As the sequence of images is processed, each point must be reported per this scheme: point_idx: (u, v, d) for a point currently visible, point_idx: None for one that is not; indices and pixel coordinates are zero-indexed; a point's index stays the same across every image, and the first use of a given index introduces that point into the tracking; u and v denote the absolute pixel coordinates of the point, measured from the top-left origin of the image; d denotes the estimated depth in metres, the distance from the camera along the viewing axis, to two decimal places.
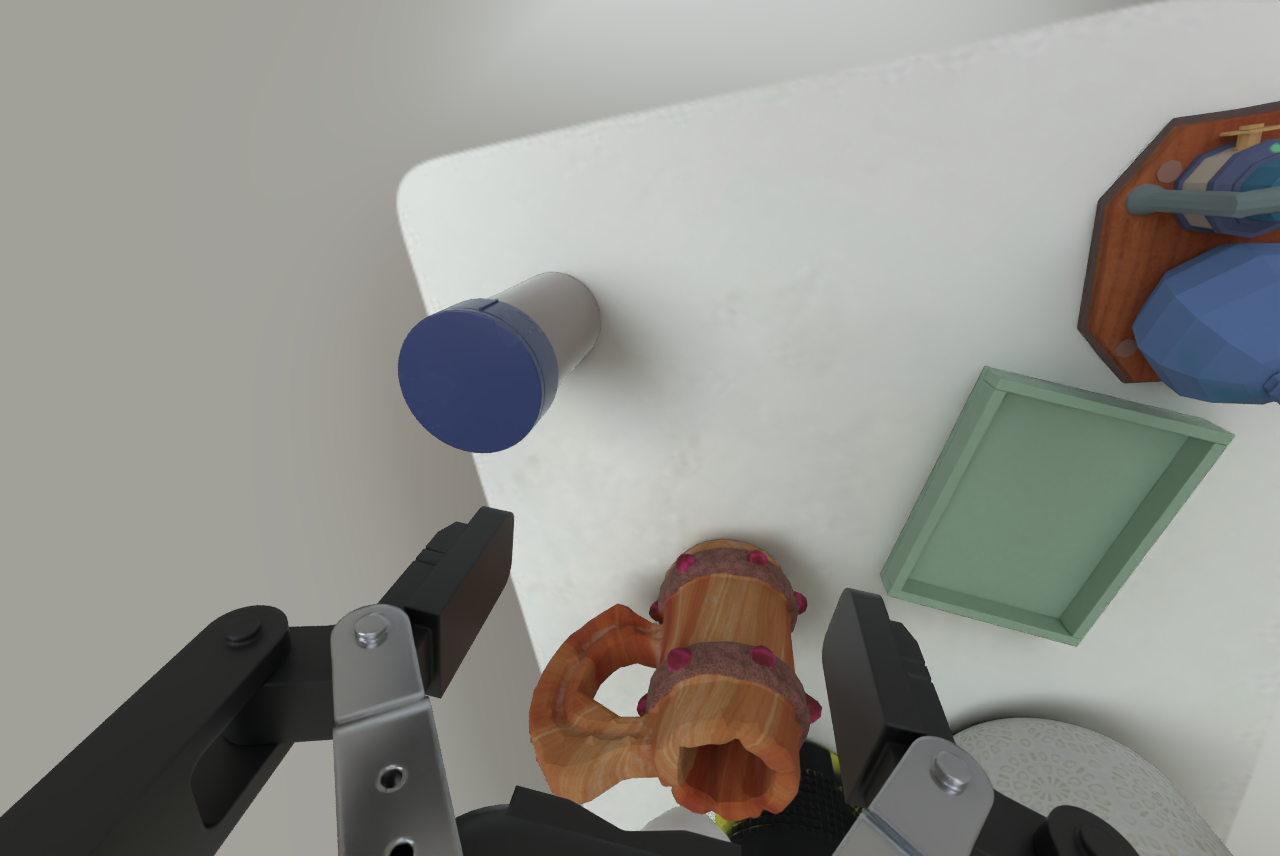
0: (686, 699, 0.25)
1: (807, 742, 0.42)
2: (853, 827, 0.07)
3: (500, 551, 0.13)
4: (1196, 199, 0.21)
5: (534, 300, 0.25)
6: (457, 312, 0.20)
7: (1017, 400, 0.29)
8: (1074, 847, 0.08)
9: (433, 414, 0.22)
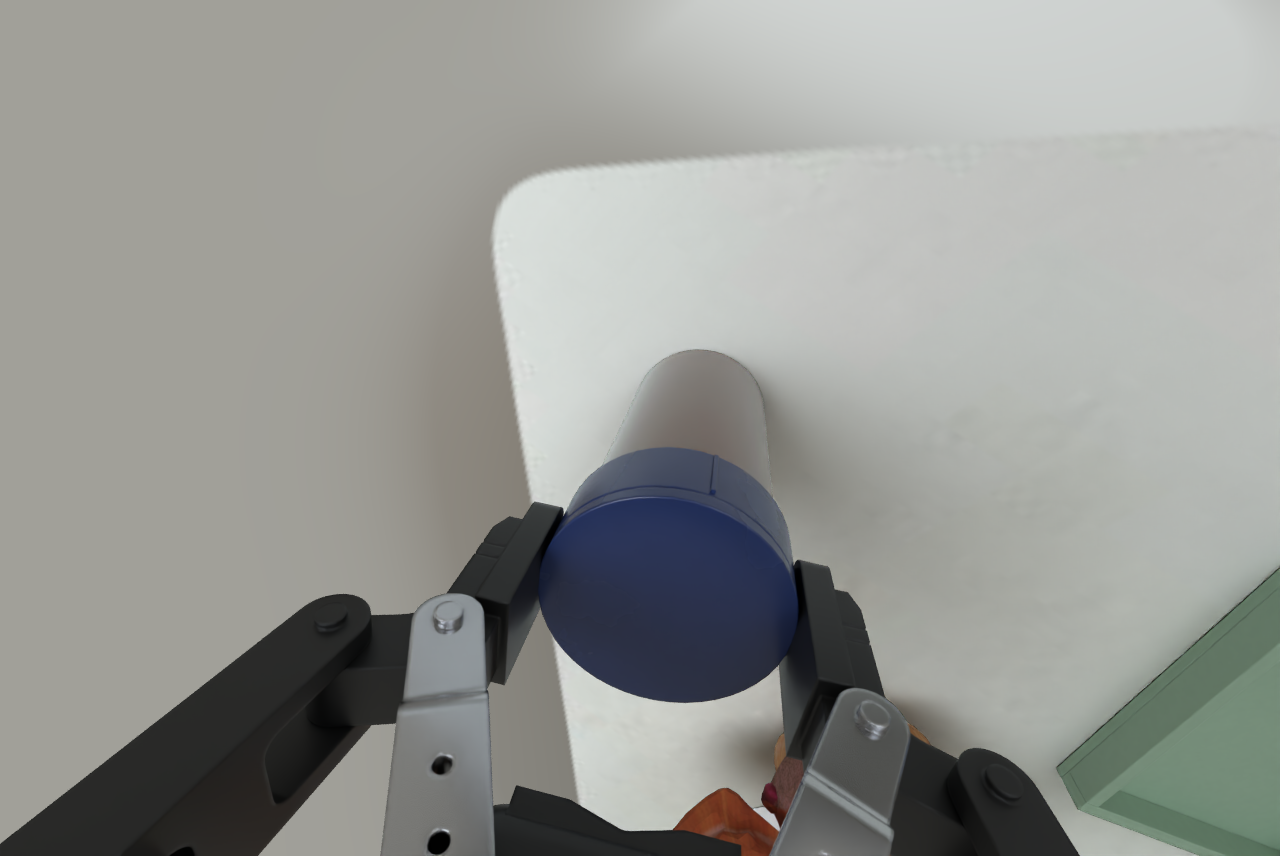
0: None
1: None
2: (797, 793, 0.07)
3: None
4: None
5: (734, 431, 0.16)
6: (679, 501, 0.11)
7: None
8: (979, 783, 0.08)
9: (586, 637, 0.13)
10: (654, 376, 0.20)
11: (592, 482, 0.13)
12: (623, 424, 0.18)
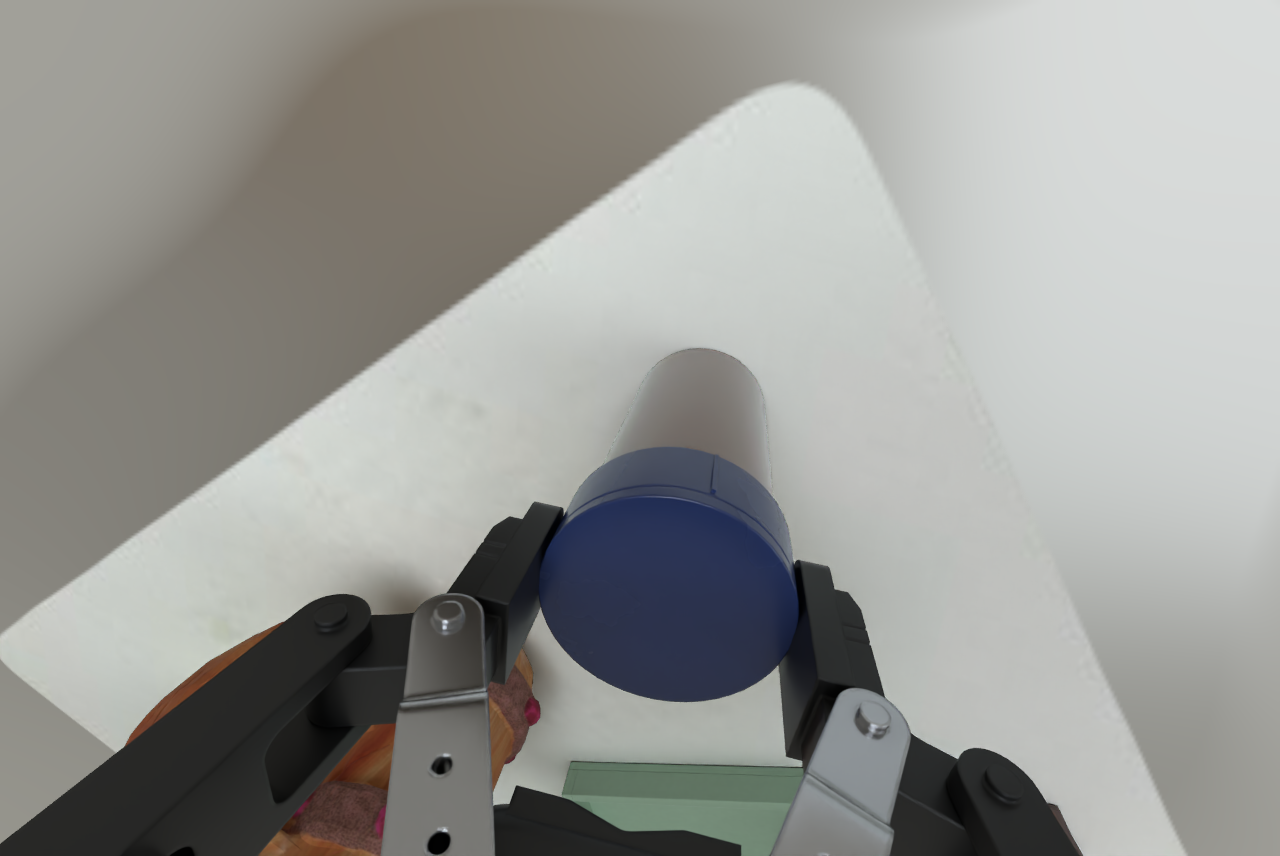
0: None
1: None
2: (798, 793, 0.07)
3: None
4: None
5: None
6: (679, 501, 0.11)
7: None
8: (979, 783, 0.08)
9: (586, 636, 0.13)
10: (718, 367, 0.20)
11: (592, 481, 0.13)
12: (689, 394, 0.17)
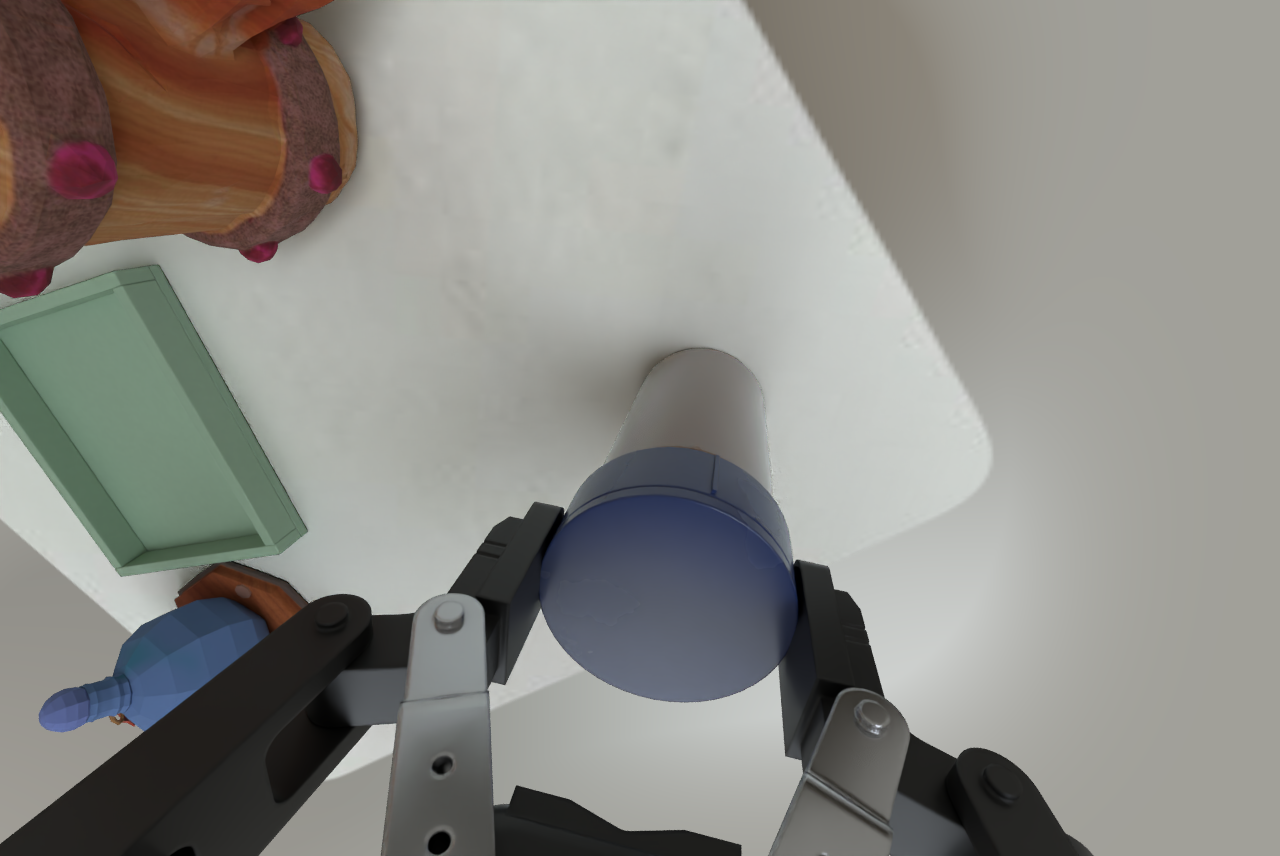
0: None
1: None
2: (797, 792, 0.07)
3: None
4: None
5: None
6: (679, 501, 0.11)
7: None
8: (978, 783, 0.08)
9: (586, 635, 0.13)
10: None
11: (593, 481, 0.13)
12: None
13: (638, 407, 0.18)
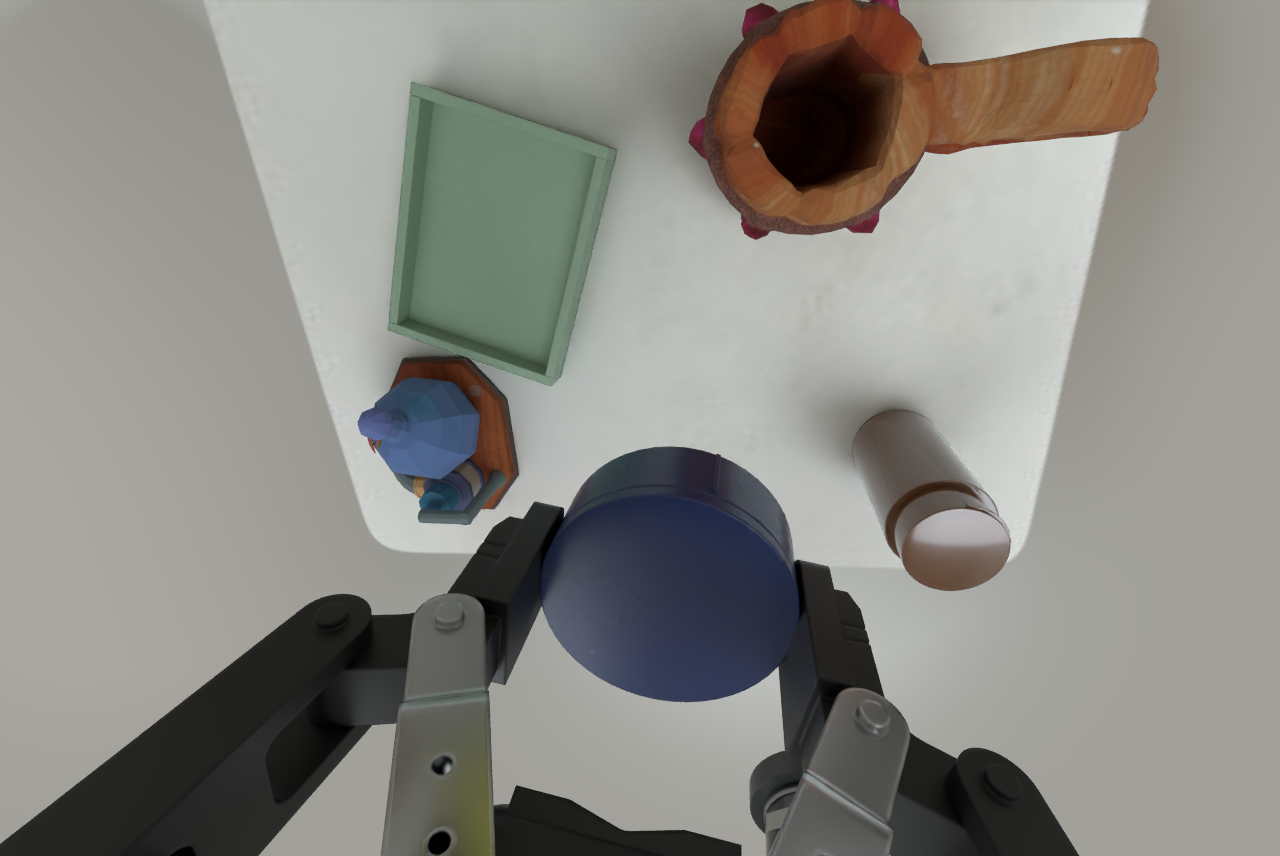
0: None
1: None
2: (797, 792, 0.07)
3: None
4: (481, 508, 0.37)
5: None
6: (680, 500, 0.11)
7: (532, 352, 0.36)
8: (978, 783, 0.08)
9: (587, 636, 0.13)
10: None
11: (594, 481, 0.13)
12: None
13: (916, 443, 0.30)
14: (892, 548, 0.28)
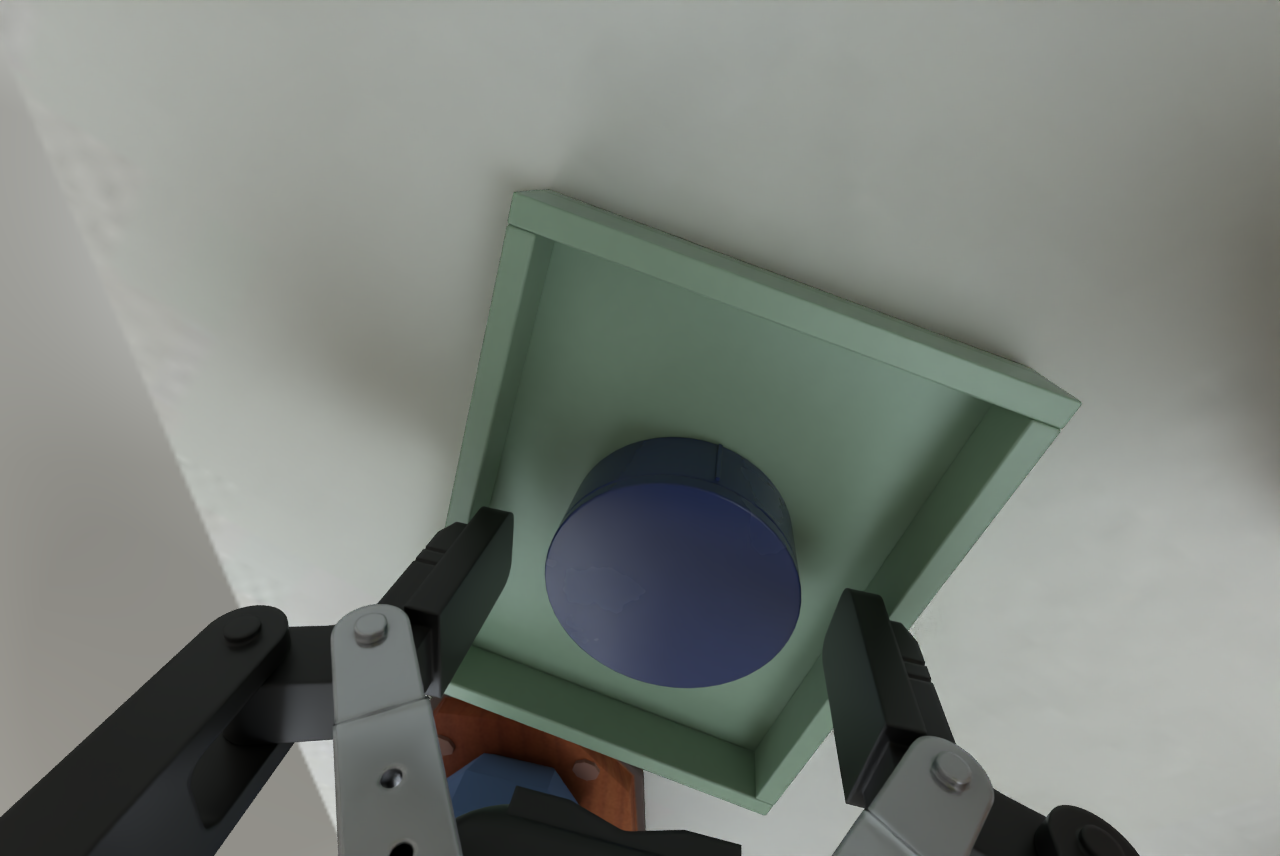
0: None
1: None
2: (853, 827, 0.07)
3: (499, 551, 0.13)
4: None
5: None
6: (684, 488, 0.11)
7: (716, 721, 0.17)
8: (1074, 847, 0.08)
9: (592, 623, 0.13)
10: None
11: (598, 471, 0.13)
12: None
13: None
14: None
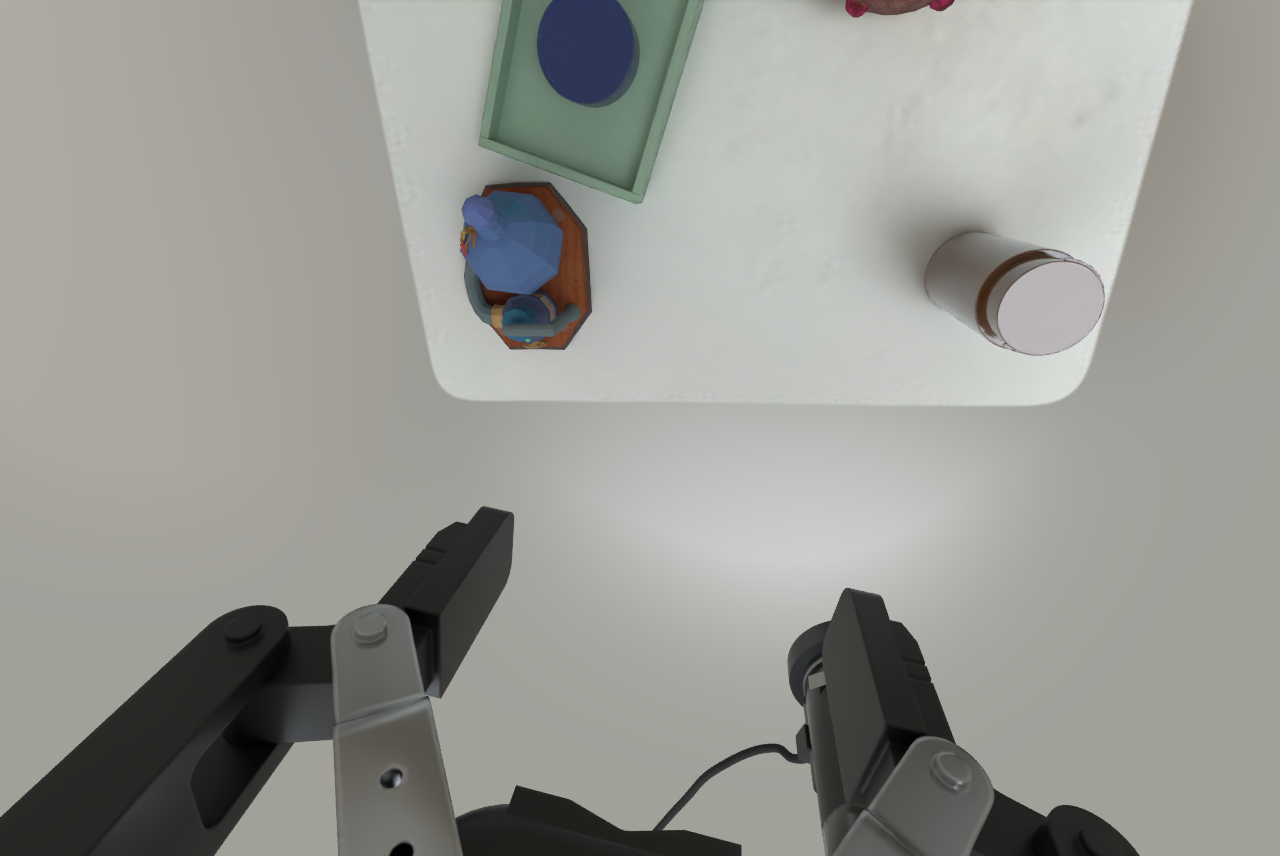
0: None
1: None
2: (853, 827, 0.07)
3: (499, 551, 0.13)
4: (562, 327, 0.38)
5: None
6: None
7: (617, 173, 0.37)
8: (1074, 847, 0.08)
9: (556, 69, 0.33)
10: None
11: None
12: None
13: (1001, 240, 0.31)
14: (980, 328, 0.30)
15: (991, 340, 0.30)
